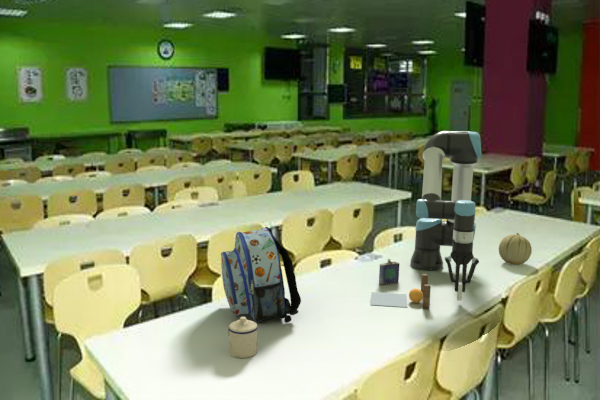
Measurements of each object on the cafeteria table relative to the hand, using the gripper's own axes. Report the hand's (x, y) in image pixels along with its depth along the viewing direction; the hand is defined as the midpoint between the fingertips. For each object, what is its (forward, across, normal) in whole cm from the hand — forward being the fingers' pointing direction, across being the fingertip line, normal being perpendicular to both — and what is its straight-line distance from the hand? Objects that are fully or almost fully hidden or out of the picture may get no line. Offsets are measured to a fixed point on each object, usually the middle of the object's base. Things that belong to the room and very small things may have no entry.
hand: (459, 299), depth 219 cm
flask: (+2, -27, +20) cm, 34 cm away
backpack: (+2, -77, -20) cm, 79 cm away
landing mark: (+2, -27, 0) cm, 27 cm away
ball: (-1, -17, -1) cm, 17 cm away
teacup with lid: (+2, -74, -53) cm, 91 cm away
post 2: (+2, -13, -6) cm, 15 cm away
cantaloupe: (+2, +33, +58) cm, 67 cm away
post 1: (+2, -13, +6) cm, 15 cm away
